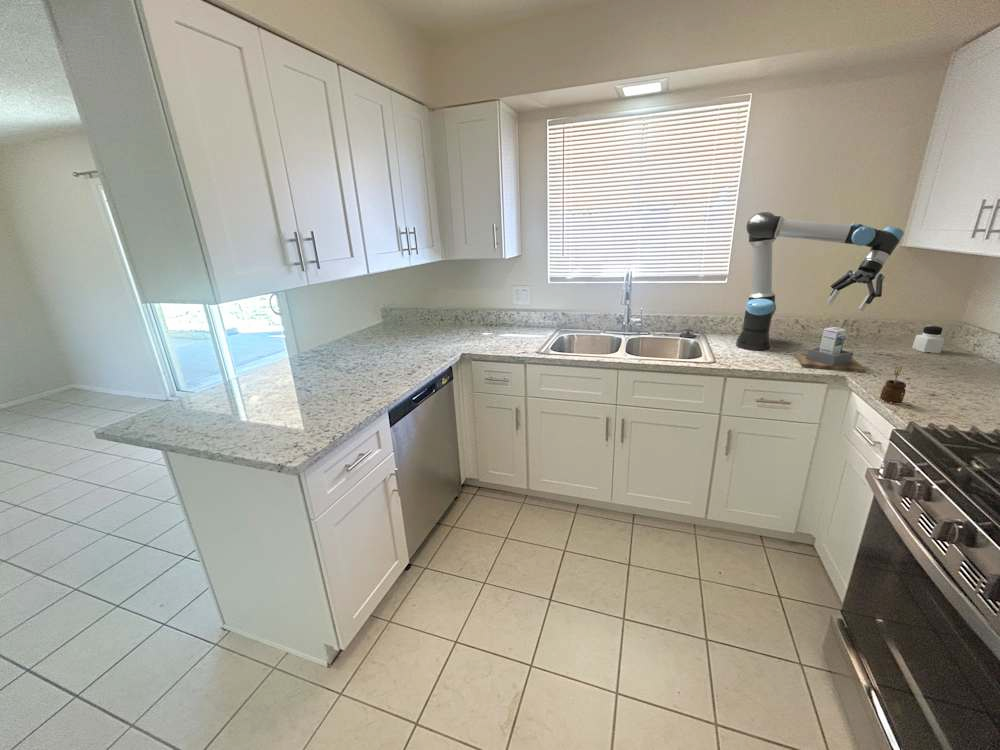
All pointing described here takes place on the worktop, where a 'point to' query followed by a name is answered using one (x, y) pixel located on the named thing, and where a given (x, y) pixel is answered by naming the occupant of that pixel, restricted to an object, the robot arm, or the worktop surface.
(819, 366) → the walnut board
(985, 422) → the worktop surface
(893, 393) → the brown potted plant
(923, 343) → the medicine bottle
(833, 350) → the syrup box
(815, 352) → the holder
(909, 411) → the worktop surface
